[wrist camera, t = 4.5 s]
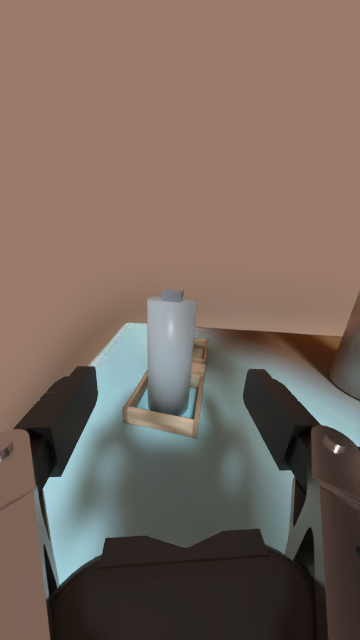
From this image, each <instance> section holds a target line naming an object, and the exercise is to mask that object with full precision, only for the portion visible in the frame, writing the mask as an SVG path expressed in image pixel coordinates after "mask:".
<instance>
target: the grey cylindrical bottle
mask: <svg viewBox="0 0 360 640" xmlns="http://www.w3.org/2000/svg"><path fill="white" fill-rule="evenodd" d="M183 292H184V291H182V290H170V289H164V290H162V291H161V296H154V297H151V298H149V299H148V300H147V315H148V317H147V318H148V407H149V410H150V411H154V412H159V413H164V414H169V415H174V416H181V415H182V414H184V413H185V412H186V410H187V408H188V403H189V391H190V379H191V367H192V355H193V343H194V331H195V319H196V307H197V301H196V300H194V299H192V298H188V297H183Z"/></svg>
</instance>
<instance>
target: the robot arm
mask: <svg viewBox="0 0 360 640" xmlns="http://www.w3.org/2000/svg"><path fill="white" fill-rule="evenodd" d="M329 378H330V379H331V381H332V382H333V383H334V384H335V385H336V386H337V387H339V388H340V389H341V390H343V391H344V392H346V393H348V394H349V395H351V396H353V397H355V398H357V399H359V400H360V291H359V293H358V296H357V299H356V302H355V304H354V307H353V310H352V312H351V315H350V318H349V320H348V323H347V326H346V329H345V331H344V334H343V337H342V339H341V342H340V345H339V347H338V350H337V353H336V355H335V358H334V361H333V363H332V366H331V369H330V372H329ZM97 396H98V390H97V379H96V370H95V367H93V366H78V367H76V368H75V370H74V371H73V372H72V373H71V375H70V376H69V377H63V378H62V379H60V380H58V381H57V382H55V383H54V384H53V385H52V386H51V387H50V388H49V389H48V391H47V392H46V393H45V394H44V395H43V396H42V397H41V398H40V401H38V402H37V403H36V404H35V405H34V406H33V407H32V408H31V410H30V411H29V412H28V413H27V414H26V415H25V416H24V417H23V419H22V420H21V421H20V422H19V423H18V424H17V425H16V426H15V427H14V429H13V430H9V431H5V432H2V433H0V640H360V447H357V446H356V445H355V444H354V443H353V442H352V441H351V440H350V439H349V438H348V437H347V436H345V435H344V434H342V433H341V432H339V431H337V430H335V429H333V428H330V427H327V426H322V425H320V423H319V422H318V421H317V420H316V419H315V418H314V417H313V416H312V415H311V414H310V413H309V412H308V410H307V409H306V408H305V407H304V406H303V405H302V404H301V403H300V402H299V401H297V399H296V397H295V396H294V395H292V394H291V392H290V391H289V390H288V389H287V388H286V387H285V385H283V384H282V383H280V382H279V381H277V380H276V379H273V378H272V377H271V376H270V375H269V374H268V373H267V371H266V370H264V369H249V370H248V372H247V377H246V382H245V387H244V392H243V399H244V404H245V406H246V408H247V410H248V412H249V413H250V415H251V417H252V419H253V421H254V423H255V425H256V427H257V429H258V430H259V432H260V434H261V436H262V438H263V440H264V442H265V444H266V445H267V447H268V449H269V451H270V453H271V455H272V457H273V459H274V461H275V462H276V464H277V466H278V468H279V470H291V471H292V472H293V474H294V478H293V482H292V496H291V511H290V526H289V536H288V541H287V546H286V550H285V555H284V554H283V553H281V552H280V551H278V550H276V549H274V548H272V547H270V546H268V545H265V544H264V541H263V538H262V535H261V532H260V529H248V530H231V531H222V532H220V533H218V534H216V535H214V536H212V537H210V538H208V539H206V540H204V541H202V542H200V543H198V544H195V545H193V546H191V547H189V548H182V547H179V546H176V545H173V544H169V543H166V542H163V541H160V540H157V539H154V538H151V537H148V536H133V537H116V538H106V539H105V543H104V548H103V553H102V555H100V556H97V557H95V558H94V559H92V560H90V561H89V562H87V563H85V564H84V565H83V566H81V567H80V568H79V569H77V570H76V571H75V572H74V573H72V574H71V575H70V576H69V577H68V578H67V579H66V580H65V581H64V582H63V583H62V584H61V585H59V580H58V574H57V569H56V564H55V559H54V554H53V549H52V542H51V536H50V529H49V523H48V517H47V510H46V504H45V497H44V491H43V487H44V486H45V484H46V482H47V480H48V478H49V477H61V475H62V473H63V471H64V469H65V467H66V465H67V463H68V461H69V459H70V457H71V455H72V452H73V450H74V448H75V446H76V444H77V442H78V440H79V438H80V436H81V434H82V432H83V430H84V428H85V426H86V423H87V421H88V419H89V417H90V415H91V413H92V411H93V409H94V407H95V405H96V402H97Z"/></svg>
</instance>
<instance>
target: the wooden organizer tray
mask: <svg viewBox="0 0 360 640" xmlns="http://www.w3.org/2000/svg"><path fill="white" fill-rule="evenodd" d="M203 349H204V356H203V359H202V354H203ZM207 349H208V340H203V339H196V338H194V343H193V355H192V367H191V379H190V387H192V388H198V395H197V402H196V409H195V415H194V419H189V418H184V417H179V416H174V415H169V414H164V413H159V412H154V411H149V410H144V409H139V408H136V407H137V405H138V403H139V401H140V400H141V398H142V396H143V394H144V392H145V390H146V389H147V387H148V370H147V371H146V373H145V374H144V376H143V377H142V379H141V381H140V382H139V384H138V385H137V387H136V389H135V390H134V392H133V393H132V395H131V396H130V398H129V400H128V401H127V403H126V404H125V406H124V407H123V409H122V410H123V422H125V423H129V424H134V425H139V426H143V427H148V428H152V429H157V430H162V431H166V432H171V433H175V434H180V435H185V436H189V437H194V438H197V432H198V424H199V416H200V407H201V399H202V391H203V382H204V374H205V366H206V357H207Z"/></svg>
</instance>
